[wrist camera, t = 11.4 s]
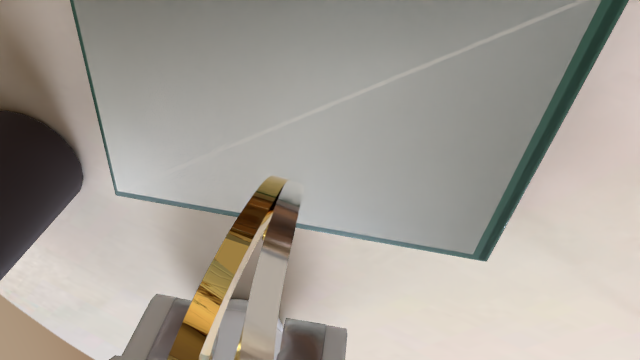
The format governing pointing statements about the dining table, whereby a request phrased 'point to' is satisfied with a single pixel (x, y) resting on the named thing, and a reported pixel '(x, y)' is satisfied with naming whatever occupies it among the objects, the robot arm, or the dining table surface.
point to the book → (341, 106)
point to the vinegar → (31, 183)
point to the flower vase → (237, 330)
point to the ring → (227, 266)
